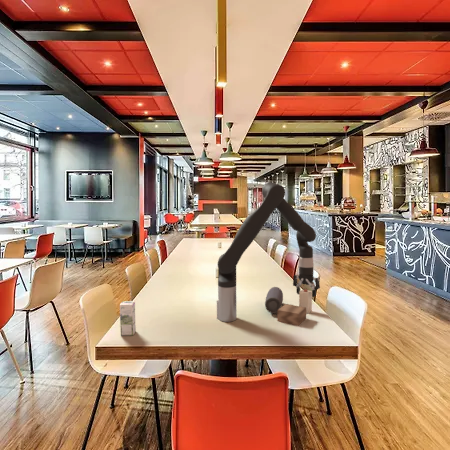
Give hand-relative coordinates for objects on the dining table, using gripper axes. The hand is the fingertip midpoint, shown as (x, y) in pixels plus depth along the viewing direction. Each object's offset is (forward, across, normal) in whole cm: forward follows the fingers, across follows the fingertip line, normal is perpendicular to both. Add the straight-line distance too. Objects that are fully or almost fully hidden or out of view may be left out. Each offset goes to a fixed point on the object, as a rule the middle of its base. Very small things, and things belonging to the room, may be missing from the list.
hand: (306, 295), depth 185 cm
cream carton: (+9, 0, 0) cm, 9 cm away
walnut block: (+9, 0, -16) cm, 18 cm away
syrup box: (+8, -52, -76) cm, 93 cm away
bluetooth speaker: (+9, -16, -6) cm, 19 cm away
